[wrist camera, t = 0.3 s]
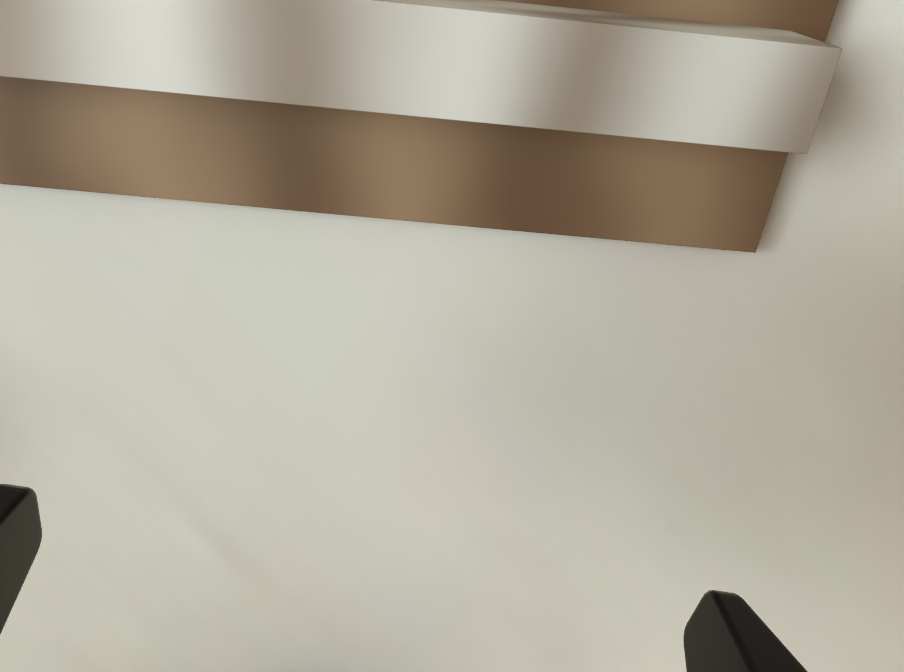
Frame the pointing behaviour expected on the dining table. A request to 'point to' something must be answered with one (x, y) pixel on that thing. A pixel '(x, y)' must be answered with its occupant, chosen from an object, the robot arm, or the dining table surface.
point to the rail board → (401, 157)
